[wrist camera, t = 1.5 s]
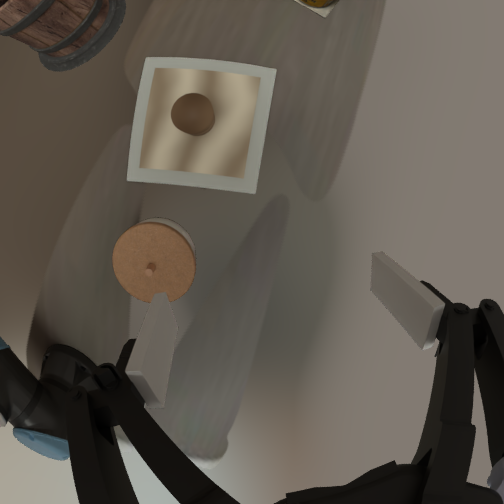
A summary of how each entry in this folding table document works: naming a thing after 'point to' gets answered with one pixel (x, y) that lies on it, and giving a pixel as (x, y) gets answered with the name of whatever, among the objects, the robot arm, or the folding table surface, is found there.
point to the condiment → (319, 5)
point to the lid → (199, 121)
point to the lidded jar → (155, 259)
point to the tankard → (62, 28)
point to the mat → (199, 178)
